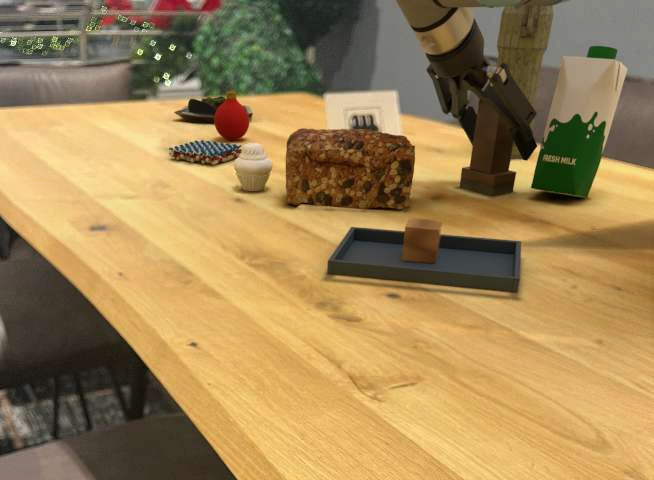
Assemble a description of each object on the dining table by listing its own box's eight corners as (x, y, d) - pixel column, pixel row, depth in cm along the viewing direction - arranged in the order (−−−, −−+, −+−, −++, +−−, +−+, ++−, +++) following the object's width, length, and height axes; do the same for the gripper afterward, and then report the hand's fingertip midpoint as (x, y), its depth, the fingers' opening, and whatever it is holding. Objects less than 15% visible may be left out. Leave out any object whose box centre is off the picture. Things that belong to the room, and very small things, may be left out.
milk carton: (594, 198, 120) (637, 53, 111) (579, 196, 113) (623, 41, 104) (540, 190, 124) (578, 49, 116) (522, 187, 117) (561, 37, 109)
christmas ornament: (218, 144, 152) (216, 87, 146) (212, 137, 158) (210, 82, 152) (252, 142, 153) (252, 86, 148) (245, 136, 159) (245, 82, 153)
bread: (283, 208, 113) (284, 134, 107) (290, 190, 122) (291, 121, 116) (410, 212, 111) (418, 138, 106) (408, 194, 120) (415, 124, 114)
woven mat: (215, 166, 135) (214, 154, 134) (167, 159, 140) (166, 147, 138) (246, 156, 143) (246, 144, 141) (199, 150, 147) (199, 138, 146)
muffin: (227, 190, 121) (225, 142, 117) (245, 182, 125) (244, 136, 121) (262, 195, 119) (262, 146, 115) (279, 187, 123) (279, 140, 119)
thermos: (517, 147, 151) (556, -72, 131) (536, 160, 142) (580, -75, 122) (473, 147, 151) (505, -73, 131) (489, 160, 142) (526, -76, 121)
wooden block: (438, 253, 94) (442, 220, 91) (435, 263, 91) (439, 229, 88) (406, 250, 95) (409, 217, 92) (401, 260, 91) (405, 226, 89)
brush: (513, 191, 122) (529, 101, 115) (491, 196, 120) (507, 103, 112) (480, 183, 127) (493, 95, 119) (459, 187, 124) (471, 98, 117)
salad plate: (179, 110, 186) (178, 88, 183) (252, 110, 187) (252, 89, 184) (172, 123, 170) (171, 100, 168) (252, 124, 171) (252, 101, 168)
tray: (518, 258, 95) (521, 241, 93) (516, 297, 83) (519, 278, 82) (350, 243, 99) (351, 226, 98) (327, 278, 88) (327, 260, 87)
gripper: (378, 51, 112) (440, 155, 129) (494, 66, 98) (547, 180, 114) (408, 7, 112) (467, 117, 128) (529, 16, 97) (577, 138, 114)
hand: (504, 147), depth 121 cm, fingers open, 9 cm apart
